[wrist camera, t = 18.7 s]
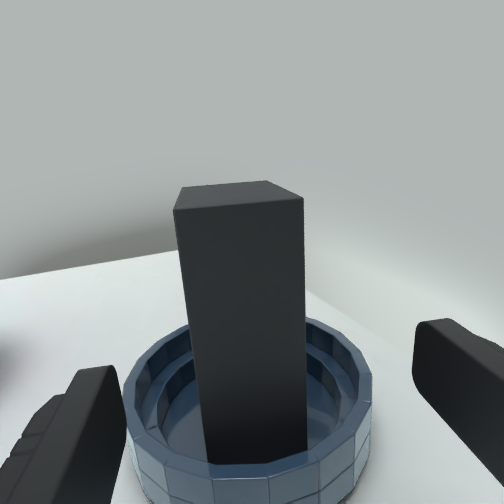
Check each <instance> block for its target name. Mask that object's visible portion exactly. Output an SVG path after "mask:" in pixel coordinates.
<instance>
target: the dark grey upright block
mask: <svg viewBox="0 0 504 504" xmlns="http://www.w3.org/2000/svg"><path fill="white" fill-rule="evenodd" d="M173 215H174V222H175V230H176V237H177V244H178V251H179V259H180V266H181V273H182V280H183V288H184V295H185V302H186V309H187V317H188V324H189V331H190V338H191V346H192V353H193V360H194V367H195V375H196V382H197V389H198V396H199V403H200V411H201V418H202V425H203V432H204V440H205V447H206V454H207V461H208V463H212V464H216V465H229V464H266V463H269V462H272V461H275V460H278V459H282V458H285V457H288V456H291V455H294V454H297V453H300V452H303V451H306V450H308V436H307V376H306V316H305V259H304V258H305V256H304V199H303V197H301V196H299V195H297V194H294V193H292V192H290V191H288V190H286V189H284V188H282V187H279V186H277V185H275V184H273V183H271V182H269V181H255V182H241V183H229V184H217V185H205V186H192V187H183V188H182V189H181V191H180V194H179V196H178V199H177V201H176V204H175V206H174V209H173Z"/></svg>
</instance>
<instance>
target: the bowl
mask: <svg viewBox="0 0 504 504" xmlns="http://www.w3.org/2000/svg"><path fill="white" fill-rule="evenodd" d="M306 376H307V436H308V450H306V451H303V452H300V453H297V454H294V455H291V456H288V457H285V458H282V459H278V460H275V461H272V462H269V463H266V464H229V465H216V464H212V463H208V461H207V454H206V447H205V440H204V432H203V425H202V418H201V411H200V403H199V396H198V389H197V382H196V375H195V367H194V360H193V353H192V346H191V338H190V331H189V324H188V325H185V326H183V327H181V328H179V329H177V330H175V331H174V332H172V333H170V334H169V335H167V336H165V337H164V338H162V339H160V340H159V341H157V342H156V343H155V344H154V345H153V346H152V347H151V348H149V349H148V350H147V351H146V352H145V353H144V354H143V355H142V356H141V357H140V358H139V359H138V360H137V362H136V363H135V365H134V367H133V369H132V371H131V372H130V374H129V376H128V378H127V379H126V381H125V383H124V386H123V395H122V399H123V404H124V408H125V413H126V419H127V436H126V437H127V441H128V446H129V450H130V454H131V459H132V463H133V465H134V468H135V470H136V473H137V475H138V478H139V481H140V483H141V486H142V488H143V491H144V493H145V495H146V496H147V497H148V498H149V499H150V500H151V501H152V502H153V503H154V504H337V503H338V502H339V501H341V500H342V499H343V498H344V497H345V496H346V495H347V494H348V493H349V492H351V491H352V489H353V488H354V486H355V484H356V482H357V480H358V477H359V475H360V473H361V471H362V469H363V467H364V465H365V462H366V460H367V458H368V456H369V448H370V429H371V412H372V374H371V371H370V369H369V367H368V365H367V363H366V361H365V359H364V357H363V355H362V353H361V351H360V350H359V349H358V348H357V347H356V346H355V345H354V344H353V343H352V342H351V341H349V340H348V339H347V338H346V337H345V336H344V335H343V334H342V333H341V332H339V331H337V330H335V329H333V328H331V327H329V326H328V325H326V324H324V323H322V322H320V321H317V320H315V319H311V318H308V317H306Z"/></svg>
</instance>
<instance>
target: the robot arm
mask: <svg viewBox="0 0 504 504" xmlns="http://www.w3.org/2000/svg"><path fill="white" fill-rule="evenodd" d="M412 377H413V381H414V383H415V386H416V388H417V390H418V391H419V393H420V394H421V395H422V396H423V398H424V399H425V400H426V401H427V402H428V403H429V404H430V405H431V406H432V408H433V409H434V410H435V411H436V412H437V413H438V414H439V415H440V416H441V418H442V419H443V420H444V421H445V422H446V423H447V424H448V425H449V427H450V428H451V429H452V430H453V431H454V432H455V433H456V434H457V435H458V437H459V438H460V439H461V440H462V441H463V442H464V443H465V444H466V445H467V447H468V448H469V449H470V450H471V451H472V452H473V453H474V454H475V456H476V457H477V458H478V459H479V460H480V461H481V462H482V463H483V464H484V466H485V467H486V468H487V469H488V470H489V471H490V472H491V473H492V474H493V476H494V477H495V478H496V479H497V480H498V481H499V482H500V483H501V484H502V486H503V487H504V348H502V347H500V346H499V345H498V344H496V343H494V342H491V341H489V340H487V339H484V338H482V337H479V336H477V335H475V334H473V333H471V332H470V331H468V330H467V329H466V328H464V327H462V326H461V325H459V324H458V323H457V322H455V321H454V320H452V319H449V318H444V319H438V320H431V321H423V322H420V323H419V324H418V325H417V327H416V332H415V342H414V352H413V363H412ZM126 436H127V419H126V413H125V408H124V404H123V399H122V395H121V390H120V386H119V382H118V377H117V373H116V370H115V368H114V366H113V365H108V366H101V367H94V368H87V369H80V370H78V371H77V373H76V374H75V376H74V378H73V380H72V382H71V383H70V385H69V387H68V389H67V391H66V393H65V394H60V395H54V396H53V397H52V398H51V399H50V400H49V401H48V402H47V403H46V404H45V405H43V406H42V407H41V408H40V409H39V410H38V411H37V412H36V413H35V414H34V415H33V417H32V418H31V420H30V422H29V423H28V425H27V427H26V428H25V430H24V431H23V433H22V437H21V439H18V441H17V443H16V444H15V446H14V447H13V449H12V451H11V452H10V457H8V458H7V459H6V460H5V462H4V463H3V465H2V467H1V468H0V504H110V503H111V499H112V495H113V491H114V487H115V483H116V479H117V475H118V471H119V467H120V463H121V459H122V455H123V451H124V447H125V443H126Z"/></svg>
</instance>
